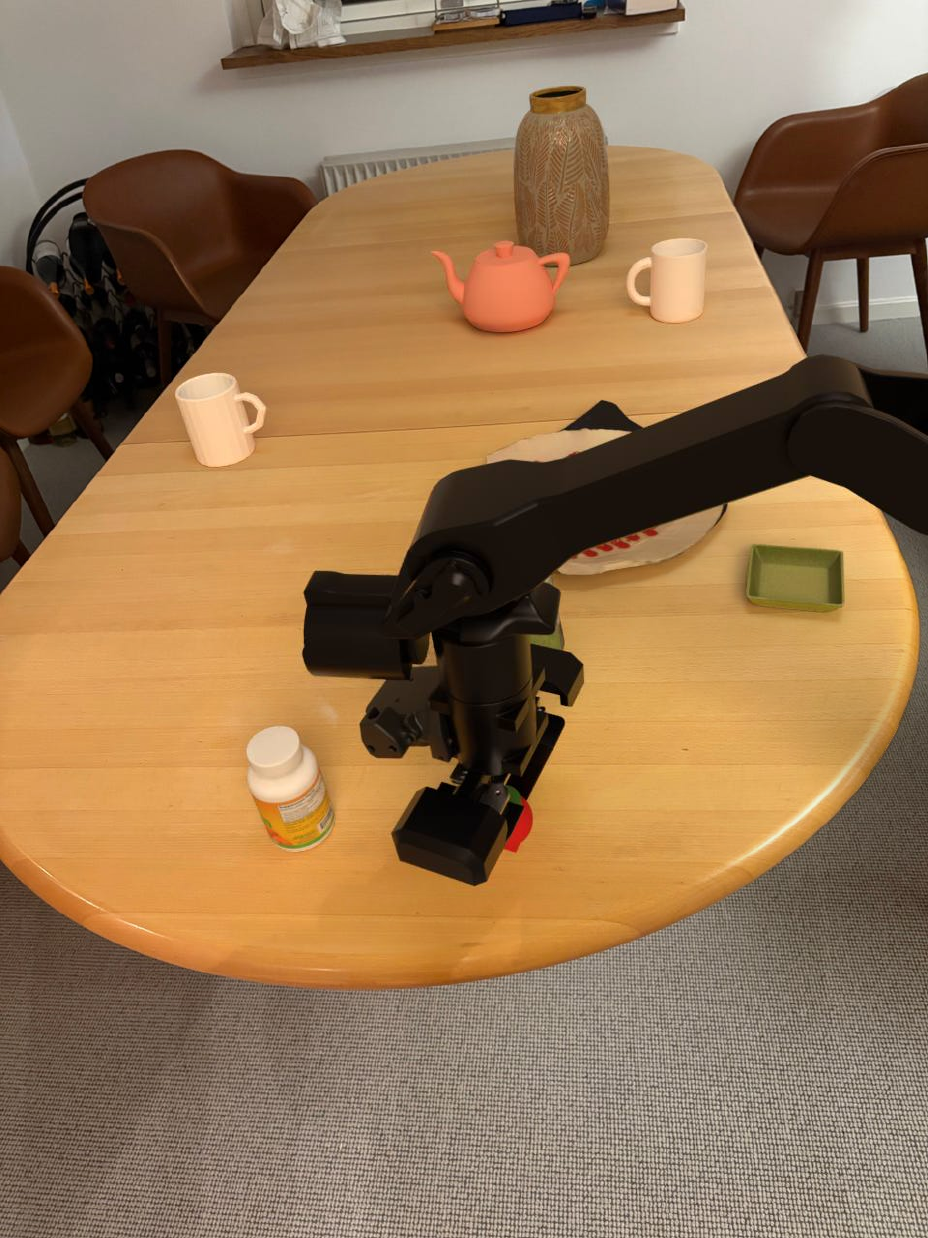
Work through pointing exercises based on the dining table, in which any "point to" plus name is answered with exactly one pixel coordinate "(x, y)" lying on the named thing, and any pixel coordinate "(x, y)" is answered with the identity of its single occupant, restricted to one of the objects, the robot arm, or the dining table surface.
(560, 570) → the omelette plate
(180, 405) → the mug
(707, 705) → the dining table surface
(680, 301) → the mug
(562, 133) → the vase
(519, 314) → the teapot
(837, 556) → the green shallow tray
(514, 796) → the strawberry
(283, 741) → the supplement bottle
